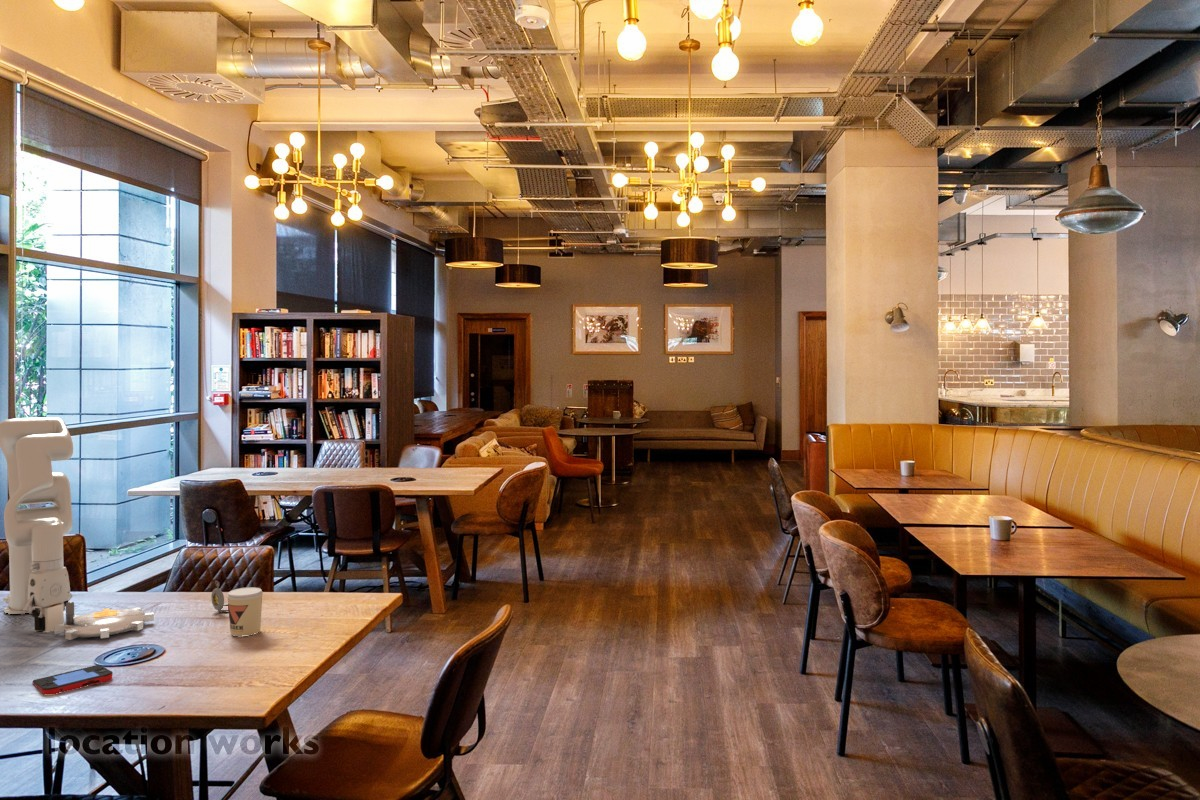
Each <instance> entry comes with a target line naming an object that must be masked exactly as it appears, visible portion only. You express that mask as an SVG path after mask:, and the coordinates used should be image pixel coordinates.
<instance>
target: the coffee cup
mask: <svg viewBox="0 0 1200 800" xmlns="http://www.w3.org/2000/svg"><path fill="white" fill-rule="evenodd" d="M263 594H264V592H263V591H262V589H261V587H254V586H253V587H251V586H250V587H249V586H247V587H240V588H236V589H232V590H230V591H228V593H227V595H226V598H227V604H228V610H229V612H228V619H229V621H228V622H229V631H230V636H231V635H235V636H242V635H251V634H254V633H257V632H259V631H260V632H261V626H262V625H261V623H262V611H263V610H262V608H263V607H262V606H263ZM260 632H259V633H260Z"/></svg>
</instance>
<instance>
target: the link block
mask: <svg viewBox="0 0 1200 800" xmlns="http://www.w3.org/2000/svg"><path fill="white" fill-rule="evenodd" d="M39 609H40V608H38V612H39ZM43 617H45V631H43V632H42V633H45V632H49V633H51V632H50V631H52V632H54V631H53V630H54V626H55V625H58V624H65V623H64V611H63V604H61V603H60V604H59V603H58V604H55V605H52V606H48V607H45V608H44V614H43ZM33 628H34V629H33V631H34V630H35V626H34V625H33Z"/></svg>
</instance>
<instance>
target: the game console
mask: <svg viewBox="0 0 1200 800" xmlns="http://www.w3.org/2000/svg"><path fill="white" fill-rule="evenodd" d="M112 679H113V671H112V670H110V669H108V668H106V667H104V666H103V665H101V664H96V665H92V666H87V667H84V668H83V667H82V668H79V669H74V670H70V671H66V672H62V673H58V674H54V675H53V674H52V675H50V676H45V677H41V678H37V679H34V680H33V681H32V684H33V683H34V684H35V685H36V686H37V687H38V688H39V689H40V690H41V691H42V692H43V693H42V692H41V691H40V690H39V689H38V688H37V687H36V686H35V685H34V684H33V685H34V686H35V687H36V688H37V689H38V690H39V691H40V692H41V693H42V695H44V694H55V695H57V694H56V693H58V694H60V693H59V692H63V693H65V692H64V691H67V690H71V691H73V690H72V689H75V690H77V689H76V688H79V689H81V688H80V687H83V688H85V687H84V686H87V685H91V684H96V685H98V684H97V683H100V684H102V683H101V682H104V683H107V682H106V681H108V682H109V681H110V682H111V680H112ZM87 687H88V686H87ZM67 692H68V691H67Z"/></svg>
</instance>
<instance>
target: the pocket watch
mask: <svg viewBox="0 0 1200 800" xmlns="http://www.w3.org/2000/svg"><path fill="white" fill-rule="evenodd" d="M214 583H215V585H216V588H214V589H213V590H212V591H211V597H210V598H211V603H212V607H213V608H214V609H215V610H217V612H218V611H219V612H220V611H229V610H221V609H222V608H223V606H228V603H227V604H225V597H224V593H223V591H222V590H221V588H219V587H220V585H221V584H220V582H219V581H218V580H214Z"/></svg>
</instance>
